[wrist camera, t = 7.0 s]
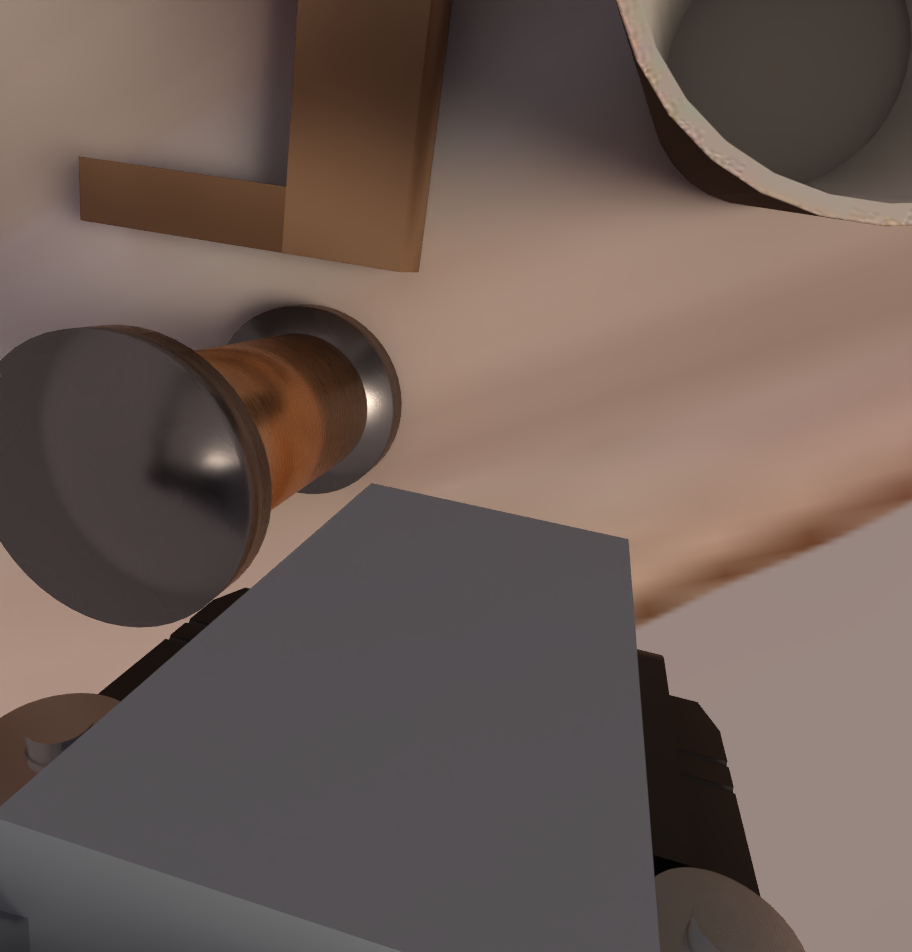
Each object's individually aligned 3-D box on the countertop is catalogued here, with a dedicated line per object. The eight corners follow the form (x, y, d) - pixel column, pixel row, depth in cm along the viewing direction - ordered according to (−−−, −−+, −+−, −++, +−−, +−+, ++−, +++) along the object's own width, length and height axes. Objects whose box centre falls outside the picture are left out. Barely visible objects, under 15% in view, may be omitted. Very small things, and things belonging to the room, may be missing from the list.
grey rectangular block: (371, 483, 11) (-10, 816, 4) (628, 539, 10) (666, 1036, 3) (346, 697, 12) (20, 1218, 5) (573, 759, 11) (525, 1436, 5)
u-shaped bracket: (122, -152, 19) (69, -198, 17) (468, -130, 17) (451, -178, 16) (125, 224, 22) (80, 220, 20) (418, 271, 21) (399, 271, 19)
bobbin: (235, 291, 22) (-42, 303, 13) (412, 321, 21) (255, 360, 12) (227, 465, 24) (-19, 589, 14) (390, 501, 23) (239, 658, 14)
